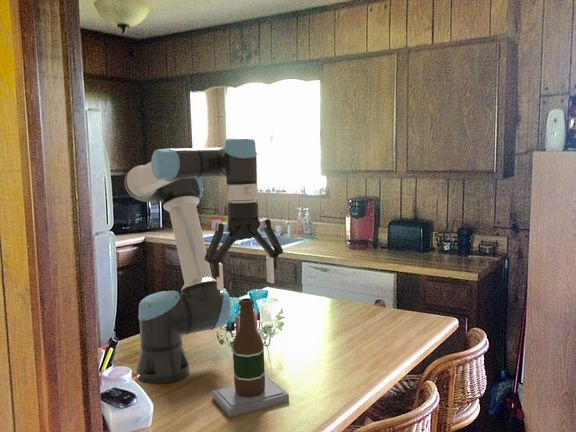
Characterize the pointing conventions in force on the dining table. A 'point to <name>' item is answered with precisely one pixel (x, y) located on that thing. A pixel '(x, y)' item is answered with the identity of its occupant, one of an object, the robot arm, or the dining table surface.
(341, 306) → the dining table surface
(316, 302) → the dining table surface
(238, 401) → the slate stand
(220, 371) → the dining table surface
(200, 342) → the dining table surface
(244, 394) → the beer bottle
